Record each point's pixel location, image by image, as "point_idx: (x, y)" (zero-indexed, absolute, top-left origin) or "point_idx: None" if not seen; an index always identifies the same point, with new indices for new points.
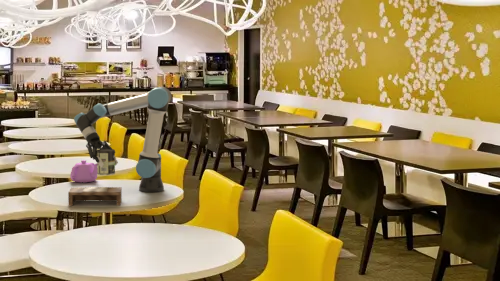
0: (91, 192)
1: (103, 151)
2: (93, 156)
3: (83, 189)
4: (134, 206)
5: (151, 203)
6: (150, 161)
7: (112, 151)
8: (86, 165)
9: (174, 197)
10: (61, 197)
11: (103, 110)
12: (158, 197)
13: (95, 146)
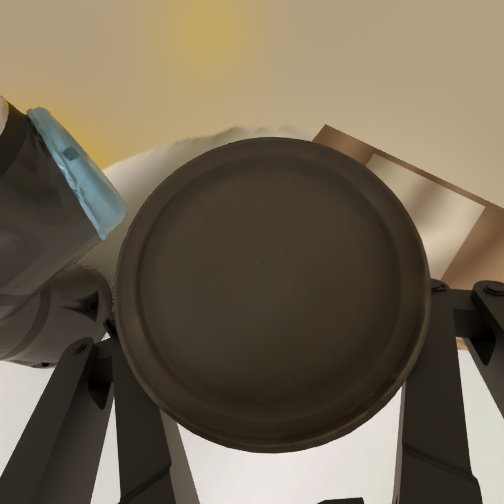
0: (442, 180)
1: (369, 170)
2: (469, 293)
3: (454, 259)
4: (290, 127)
5: (222, 134)
6: (39, 107)
7: (230, 149)
8: None
9: (113, 166)
10: (473, 456)
11: None
12: (145, 192)
13: (469, 485)
